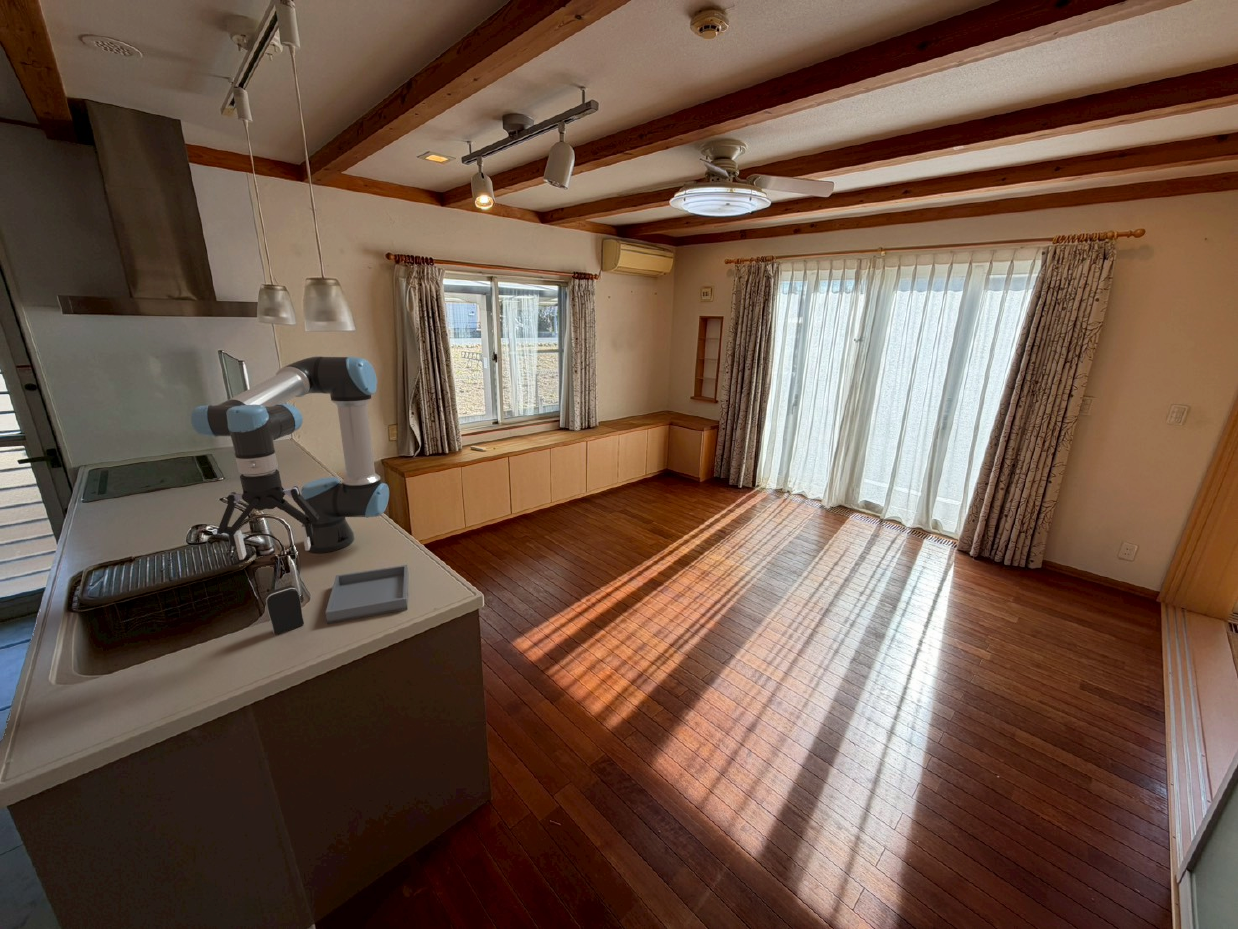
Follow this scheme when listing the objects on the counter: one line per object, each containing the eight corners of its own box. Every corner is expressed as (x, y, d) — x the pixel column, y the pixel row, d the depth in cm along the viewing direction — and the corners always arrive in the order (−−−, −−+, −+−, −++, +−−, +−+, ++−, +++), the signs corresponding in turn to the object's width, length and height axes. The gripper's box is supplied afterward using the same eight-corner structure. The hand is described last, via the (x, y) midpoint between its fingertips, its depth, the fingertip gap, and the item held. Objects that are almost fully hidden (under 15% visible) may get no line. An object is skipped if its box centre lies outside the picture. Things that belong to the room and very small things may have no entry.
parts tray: (337, 585, 145) (336, 575, 144) (408, 574, 152) (407, 564, 151) (327, 624, 128) (325, 612, 127) (407, 609, 135) (406, 598, 134)
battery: (301, 618, 130) (294, 581, 126) (305, 625, 127) (298, 587, 124) (270, 629, 125) (262, 591, 122) (274, 636, 123) (265, 597, 119)
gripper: (186, 482, 105) (208, 568, 112) (318, 471, 115) (331, 551, 121) (198, 472, 112) (219, 553, 118) (322, 462, 121) (335, 538, 128)
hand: (276, 552), depth 120 cm, fingers open, 13 cm apart
